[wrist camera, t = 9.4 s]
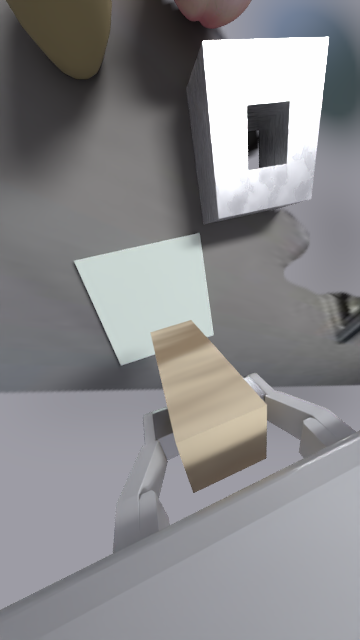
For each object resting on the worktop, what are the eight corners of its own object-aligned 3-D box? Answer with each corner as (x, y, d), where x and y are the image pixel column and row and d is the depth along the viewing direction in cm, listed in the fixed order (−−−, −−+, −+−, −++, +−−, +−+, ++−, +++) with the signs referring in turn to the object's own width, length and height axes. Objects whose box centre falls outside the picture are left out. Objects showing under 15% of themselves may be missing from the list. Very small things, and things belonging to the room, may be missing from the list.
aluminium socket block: (186, 89, 20) (202, 40, 15) (287, 81, 22) (328, 37, 17) (203, 224, 25) (218, 218, 21) (282, 207, 28) (311, 199, 23)
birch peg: (150, 332, 15) (175, 443, 6) (191, 319, 16) (267, 404, 7) (161, 366, 17) (193, 493, 8) (197, 353, 18) (266, 458, 9)
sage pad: (75, 260, 23) (73, 260, 22) (198, 233, 26) (199, 232, 25) (121, 363, 30) (121, 365, 30) (212, 333, 33) (213, 335, 33)
